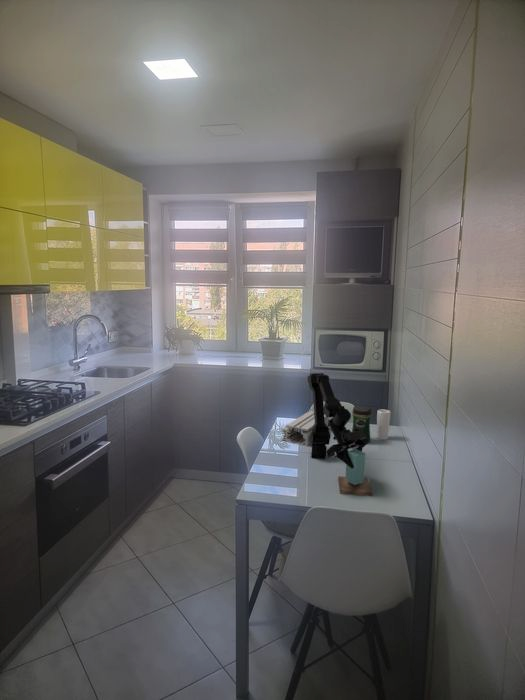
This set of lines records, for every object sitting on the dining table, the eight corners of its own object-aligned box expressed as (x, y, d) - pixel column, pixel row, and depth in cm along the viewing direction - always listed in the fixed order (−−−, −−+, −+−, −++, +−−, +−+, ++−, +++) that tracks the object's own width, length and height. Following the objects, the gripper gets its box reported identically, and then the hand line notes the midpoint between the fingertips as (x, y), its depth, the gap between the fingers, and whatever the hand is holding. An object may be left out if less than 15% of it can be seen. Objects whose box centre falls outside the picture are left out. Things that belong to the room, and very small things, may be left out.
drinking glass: (386, 441, 222) (388, 413, 220) (374, 439, 226) (375, 411, 224) (390, 437, 228) (392, 410, 226) (377, 435, 231) (379, 408, 229)
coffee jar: (370, 439, 224) (372, 405, 222) (368, 444, 217) (371, 409, 214) (352, 437, 228) (354, 403, 225) (349, 442, 220) (351, 407, 218)
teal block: (354, 485, 167) (356, 455, 165) (345, 480, 171) (347, 451, 169) (363, 482, 169) (365, 453, 167) (354, 477, 173) (356, 449, 172)
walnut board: (339, 493, 165) (340, 489, 165) (338, 479, 177) (338, 476, 177) (371, 495, 164) (371, 492, 163) (367, 481, 175) (368, 478, 175)
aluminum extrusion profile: (281, 441, 220) (281, 422, 219) (304, 425, 247) (305, 408, 245) (306, 447, 213) (307, 427, 212) (328, 429, 240) (329, 412, 238)
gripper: (332, 425, 165) (351, 463, 157) (367, 418, 175) (386, 453, 167) (318, 438, 172) (336, 475, 165) (352, 431, 182) (370, 464, 175)
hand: (357, 466), depth 168 cm, fingers closed on teal block, 5 cm apart
